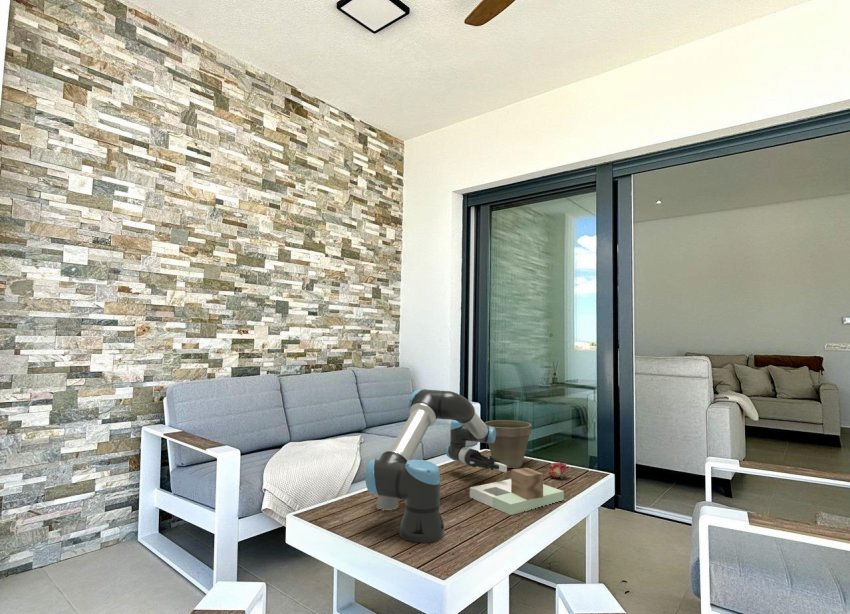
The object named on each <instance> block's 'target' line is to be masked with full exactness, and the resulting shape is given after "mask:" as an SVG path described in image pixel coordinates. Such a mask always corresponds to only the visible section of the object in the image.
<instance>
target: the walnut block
mask: <svg viewBox="0 0 850 614" xmlns="http://www.w3.org/2000/svg"><path fill="white" fill-rule="evenodd" d="M510 471H511V475H510V477H511V478H510V479H511V492H512V493H514V494H516V495H518V496H520V497H522V498H524V499H526V500H529V499H535V498H541V497H543V484H544V473H542V472H540V471H537V470H535V469H532V468H529V467H522V468H521V467H520V468H513V469H511V470H510Z"/></svg>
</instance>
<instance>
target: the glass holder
mask: <svg viewBox="0 0 850 614" xmlns="http://www.w3.org/2000/svg"><path fill="white" fill-rule="evenodd" d="M399 500H400V499H397V498H391V497H385V496H378V495H377V504H376V506H377V507H378V508H382V509H393V508H397V507H398V506H399ZM398 508H399V507H398ZM398 508H397V509H398Z"/></svg>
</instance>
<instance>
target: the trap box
mask: <svg viewBox="0 0 850 614" xmlns="http://www.w3.org/2000/svg"><path fill="white" fill-rule="evenodd" d="M564 497H565V491H564V490H562V489H559V488H556V487H552V486H550V485H547V484H544V483H543V497H541V498H535V499H529V500H526V499H524V498H522V497H520V496H518V495H516V494H514V493H512V492H511V478H509V479H504V480H500V481H495V482H490V483H485V484H481V485H474V486H471V487H469V498H470V499H472V498H473V500H475V501H478V502H479V503H482V504H485V505H487V506H488V507H491V508H493V509H496V510H498V511H500V512H503V513H505V514H507V515H509V516H512V515H513V516H514V515H517V514H520V513H524V511H525V512H527V511H531V509H532V510H536V509H539V508H538V507H540V508H542V507H541V506H543V507H546V506H545V505H547V506H550V505H549V504H551V505H553V504H552V503H555V502H558V501H562V500H564V501H565V499H564ZM562 502H563V501H562ZM558 503H559V502H558ZM555 504H556V503H555ZM535 508H536V509H535Z"/></svg>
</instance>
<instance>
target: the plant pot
mask: <svg viewBox="0 0 850 614" xmlns="http://www.w3.org/2000/svg"><path fill="white" fill-rule="evenodd" d="M484 424H485V425H486V426H487V427H494V428H495V430H496V439H495V442H494V443H487V444H488V448H489V452H490V456H492V457H493V458H495V459H497V460H499V461H500V463H501V464H504V465H507V468H513V469H520V468H521V467H523V463H524V459H525V455H526V451H527V446H528V443H529V439H530V435H531V434H532V424H531V423H530V422H526V421H521V420H511V419H510V420H509V419H508V420H507V419H503V420H501V419H498V420H495V419H494V420H488V421H485V422H484Z"/></svg>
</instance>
